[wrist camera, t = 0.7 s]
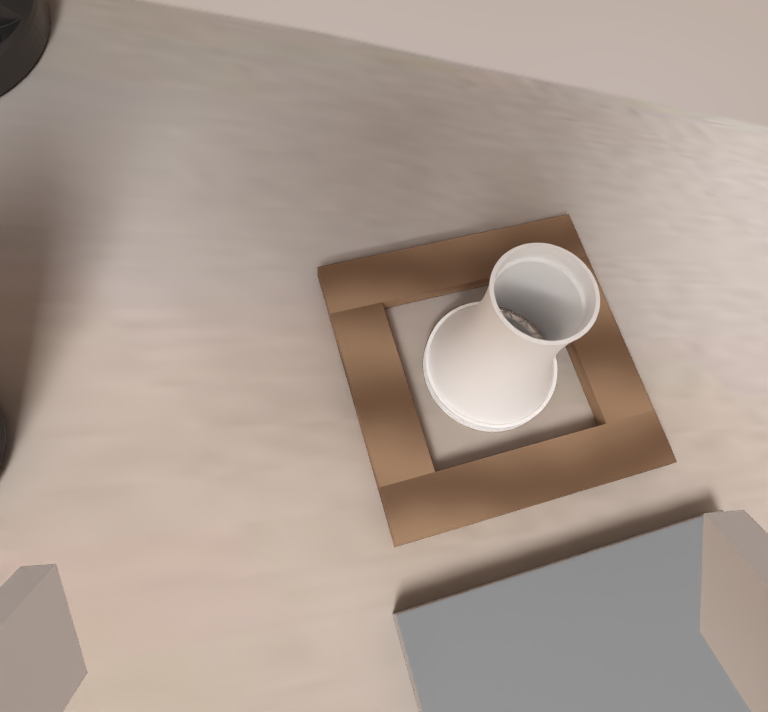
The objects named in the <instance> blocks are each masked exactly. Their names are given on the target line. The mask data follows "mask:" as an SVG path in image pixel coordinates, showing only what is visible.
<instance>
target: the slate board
mask: <svg viewBox="0 0 768 712" xmlns="http://www.w3.org/2000/svg"><path fill="white" fill-rule="evenodd" d="M714 512H723V510H720V511H714ZM709 513H713V512H709ZM703 516H704V514H702V515H699V516H696V517H692V518H689V519H686V520H683V521H680V522H677V523H674V524H671V525H668V526H664V527H661V528H658V529H655V530H652V531H649V532H646V533H643V534H639V535H636V536H633V537H630V538H627V539H624V540H621V541H618V542H614V543H611V544H608V545H605V546H602V547H599V548H596V549H593V550H590V551H586V552H583V553H580V554H577V555H574V556H571V557H568V558H565V559H561V560H558V561H555V562H552V563H549V564H546V565H543V566H540V567H536V568H533V569H530V570H527V571H524V572H521V573H518V574H515V575H512V576H508V577H505V578H502V579H499V580H496V581H493V582H490V583H487V584H483V585H480V586H477V587H474V588H471V589H468V590H465V591H462V592H459V593H455V594H452V595H449V596H446V597H443V598H440V599H437V600H434V601H430V602H427V603H424V604H421V605H418V606H415V607H412V608H409V609H405V610H402V611H399V612H396V613H393V617H394V621H395V624H396V628H397V632H398V635H399V639H400V643H401V646H402V650H403V654H404V657H405V661H406V665H407V668H408V672H409V676H410V679H411V683H412V687H413V690H414V694H415V698H416V701H417V705H418V709H419V712H751V711H750V709H749V708H748V706H747V705H746V703H745V702H744V700H743V698H742V697H741V695H740V694H739V692H738V691H737V689H736V688H735V686H734V684H733V683H732V681H731V680H730V678H729V677H728V675H727V673H726V672H725V670H724V669H723V667H722V666H721V664H720V663H719V661H718V659H717V658H716V656H715V655H714V653H713V652H712V650H711V648H710V647H709V645H708V644H707V642H706V641H705V639H704V638H703V636H702V634H701V633H700V608H701V577H702V546H703Z"/></svg>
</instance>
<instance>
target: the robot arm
mask: <svg viewBox="0 0 768 712" xmlns="http://www.w3.org/2000/svg"><path fill="white" fill-rule="evenodd" d="M49 26H50V15H49V8H48V4H47V1H46V0H0V95H2V94H3V93H5V92H6V91H8V90H9V89H10V88H12V87H13V86H14V85H15V84H17V83H18V82H19V81H20V80H21V79H22V78H23V77H24V76H25V75H26V74H27V73H28V72H29V71H30V69H31V68H32V67H33V65H34V64H35V63H36V61H37V60H38V58H39V57H40V55H41V53H42V51H43V49H44V46H45V44H46V41H47V37H48V33H49ZM700 633H701V634H702V636H703V638H704V639H705V641H706V642H707V644H708V645H709V647H710V648H711V650H712V652H713V653H714V655H715V656H716V658H717V659H718V661H719V663H720V664H721V666H722V667H723V669H724V670H725V672H726V673H727V675H728V677H729V678H730V680H731V681H732V683H733V684H734V686H735V688H736V689H737V691H738V692H739V694H740V695H741V697H742V698H743V700H744V702H745V703H746V705H747V706H748V708H749V709H750V711H751V712H768V533H767V532H766V531H765V530H764V529H763V528H762V527H761V526H760V525H759V524H758V523H757V522H756V521H755V520H754V519H753V518H752V517H751V516H750V515H749V514H747V513H746V512H745V511H744V510H738V511H726V512H713V513H704V516H703V546H702V577H701V608H700ZM87 673H88V672H87V669H86V666H85V662H84V659H83V655H82V652H81V648H80V645H79V641H78V638H77V634H76V631H75V628H74V624H73V621H72V617H71V614H70V610H69V607H68V603H67V600H66V597H65V593H64V590H63V586H62V583H61V579H60V576H59V572H58V569H57V565H56V564H48V565H35V566H22V567H20V568H19V569H18V570H17V571H16V572H15V573H14V574H13V575H12V576H11V577H10V578H9V579H8V580H7V581H6V582H5V583H4V584H3V585H2V586H1V587H0V712H63V710H64V709H65V707H66V706H67V704H68V702H69V701H70V699H71V698H72V696H73V695H74V693H75V691H76V690H77V688H78V687H79V685H80V684H81V682H82V680H83V679H84V677H85V676H86V674H87Z"/></svg>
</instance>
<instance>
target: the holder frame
mask: <svg viewBox="0 0 768 712" xmlns="http://www.w3.org/2000/svg"><path fill="white" fill-rule="evenodd" d="M528 243H547V244H552V245H555V246H558V247H561V248H563V249H565V250H567V251H569V252H571V253H572V254H574V255H575V256H577V257H578V258H579V259H580V260H581V261H582V262H583V263H584V264H585V265H586V266H587V267H588V268H589V270H590V271H591V273H592V274H593V276H594V278H595V280H596V283H597V285H598V289H599V294H600V308H599V313H598V316H597V318H596V321H595V322H594V324H593V326H592V327H591V328H590V329H589V331H588V332H587V333H585V334H584V335H583V336H582V337H580V338H578V339H577V340H575V341H573V342H571V343H569V344H568V345H566V348H567V350H568V353H569V355H570V358H571V360H572V363H573V365H574V368H575V370H576V373H577V375H578V377H579V380H580V382H581V385H582V387H583V390H584V392H585V395H586V397H587V400H588V402H589V405H590V407H591V410H592V412H593V415H594V417H595V420H596V422H597V424H598V426H596V427H592V428H589V429H585V430H582V431H578V432H575V433H571V434H568V435H564V436H561V437H557V438H553V439H550V440H546V441H543V442H539V443H536V444H532V445H529V446H525V447H521V448H518V449H514V450H511V451H507V452H504V453H500V454H497V455H493V456H490V457H486V458H482V459H479V460H475V461H472V462H468V463H465V464H461V465H458V466H454V467H450V468H447V469H443V470H440V471H436V472H435V470H434V466H433V463H432V460H431V457H430V454H429V451H428V447H427V444H426V441H425V438H424V435H423V431H422V428H421V425H420V422H419V419H418V416H417V412H416V409H415V406H414V403H413V400H412V396H411V393H410V390H409V387H408V384H407V380H406V377H405V374H404V371H403V368H402V365H401V361H400V358H399V355H398V352H397V349H396V345H395V342H394V339H393V336H392V333H391V329H390V326H389V323H388V320H387V317H386V314H385V310H384V308H388V307H393V306H397V305H402V304H406V303H410V302H415V301H419V300H423V299H428V298H432V297H437V296H441V295H445V294H450V293H454V292H458V291H463V290H467V289H472V288H476V287H480V286H485V285H489V282H490V277H491V273H492V271H493V268H494V266H495V265H496V263H497V262H498V260H499V259H500V258H501V257H502V256H503V255H504V254H505V253H506V252H508V251H509V250H511V249H513V248H515V247H517V246H520V245H523V244H528ZM554 264H555V263H554ZM564 270H565V269H564ZM318 278H319V282H320V285H321V289H322V292H323V296H324V299H325V303H326V307H327V310H328V314H329V317H330V321H331V324H332V328H333V331H334V335H335V338H336V342H337V345H338V349H339V352H340V356H341V360H342V363H343V367H344V370H345V374H346V377H347V381H348V384H349V388H350V391H351V395H352V398H353V402H354V405H355V409H356V413H357V416H358V420H359V423H360V427H361V430H362V434H363V437H364V441H365V444H366V448H367V451H368V455H369V459H370V462H371V466H372V469H373V473H374V476H375V480H376V483H377V487H378V490H379V494H380V497H381V501H382V504H383V508H384V512H385V515H386V519H387V522H388V526H389V529H390V533H391V536H392V540H393V543H394V547H397V546H400V545H403V544H407V543H410V542H413V541H417V540H420V539H423V538H427V537H430V536H433V535H437V534H440V533H443V532H447V531H450V530H453V529H457V528H460V527H463V526H467V525H470V524H473V523H477V522H480V521H483V520H487V519H490V518H493V517H496V516H500V515H503V514H506V513H510V512H513V511H516V510H520V509H523V508H526V507H530V506H533V505H536V504H540V503H543V502H546V501H550V500H553V499H556V498H560V497H563V496H566V495H570V494H573V493H576V492H580V491H583V490H586V489H590V488H593V487H596V486H600V485H603V484H606V483H610V482H613V481H616V480H619V479H623V478H626V477H629V476H633V475H636V474H639V473H643V472H646V471H649V470H653V469H656V468H659V467H663V466H666V465H669V464H672V463H675V462H677V461H676V459H675V456H674V454H673V452H672V449H671V447H670V445H669V443H668V440H667V438H666V436H665V433H664V431H663V429H662V427H661V424H660V422H659V420H658V417H657V415H656V413H655V411H654V408H653V406H652V404H651V401H650V399H649V397H648V394H647V392H646V390H645V388H644V385H643V383H642V381H641V378H640V376H639V374H638V372H637V369H636V367H635V365H634V362H633V360H632V358H631V356H630V353H629V351H628V349H627V346H626V344H625V342H624V340H623V337H622V335H621V333H620V330H619V328H618V326H617V324H616V321H615V319H614V317H613V314H612V312H611V310H610V308H609V305H608V303H607V301H606V298H605V296H604V294H603V292H602V289H601V287H600V285H599V282H598V280H597V278H596V275H595V273H594V271H593V269H592V266H591V264H590V262H589V259H588V257H587V255H586V253H585V250H584V248H583V246H582V243H581V241H580V239H579V237H578V234H577V232H576V230H575V227H574V225H573V223H572V221H571V218H570V216H569V214H567V215H562V216H557V217H552V218H548V219H543V220H538V221H534V222H529V223H524V224H519V225H515V226H510V227H505V228H501V229H496V230H491V231H486V232H482V233H477V234H472V235H468V236H463V237H458V238H453V239H449V240H444V241H439V242H435V243H430V244H425V245H420V246H416V247H411V248H406V249H402V250H397V251H392V252H387V253H383V254H378V255H373V256H369V257H364V258H359V259H354V260H350V261H345V262H340V263H336V264H331V265H326V266H321V267H318Z"/></svg>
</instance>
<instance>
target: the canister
mask: <svg viewBox="0 0 768 712" xmlns="http://www.w3.org/2000/svg"><path fill="white" fill-rule="evenodd" d="M5 442H6V431H5V422H4V418H3V415H2V412H1V409H0V466H1V463H2V460H3V455H4V451H5Z"/></svg>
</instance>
